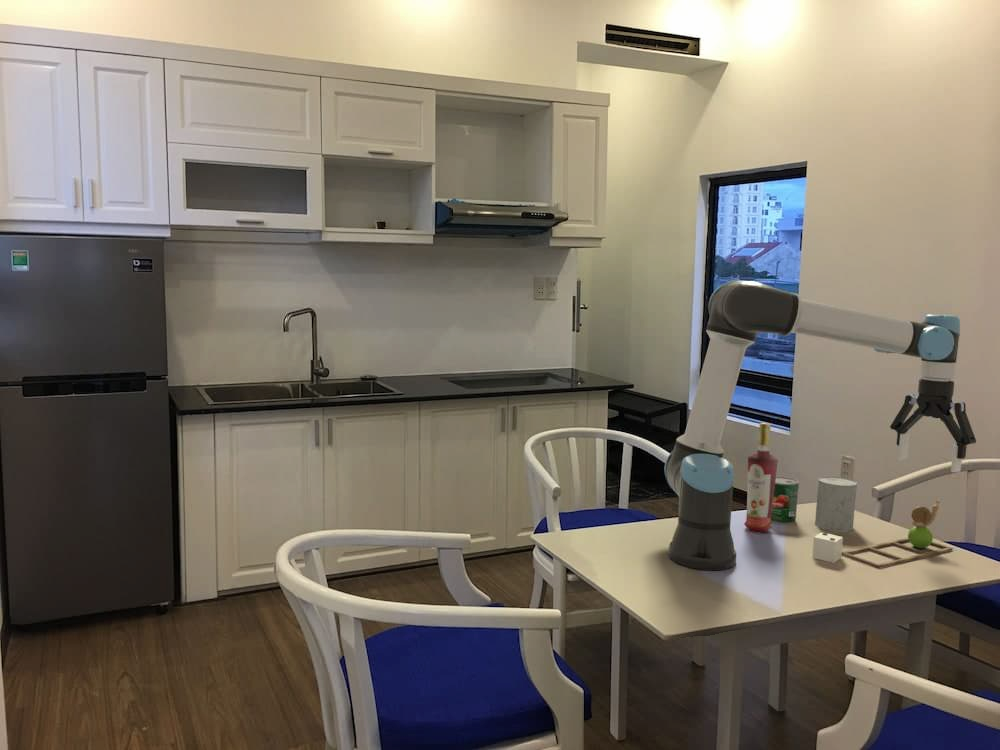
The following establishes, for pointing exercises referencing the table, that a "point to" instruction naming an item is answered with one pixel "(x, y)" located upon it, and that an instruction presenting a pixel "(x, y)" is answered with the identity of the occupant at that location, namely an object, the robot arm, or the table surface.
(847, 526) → the grey cylinder
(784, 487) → the canned tomato
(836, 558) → the die
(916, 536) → the snail figurine
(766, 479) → the liquor
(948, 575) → the table surface
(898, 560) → the wooden ladder frame
